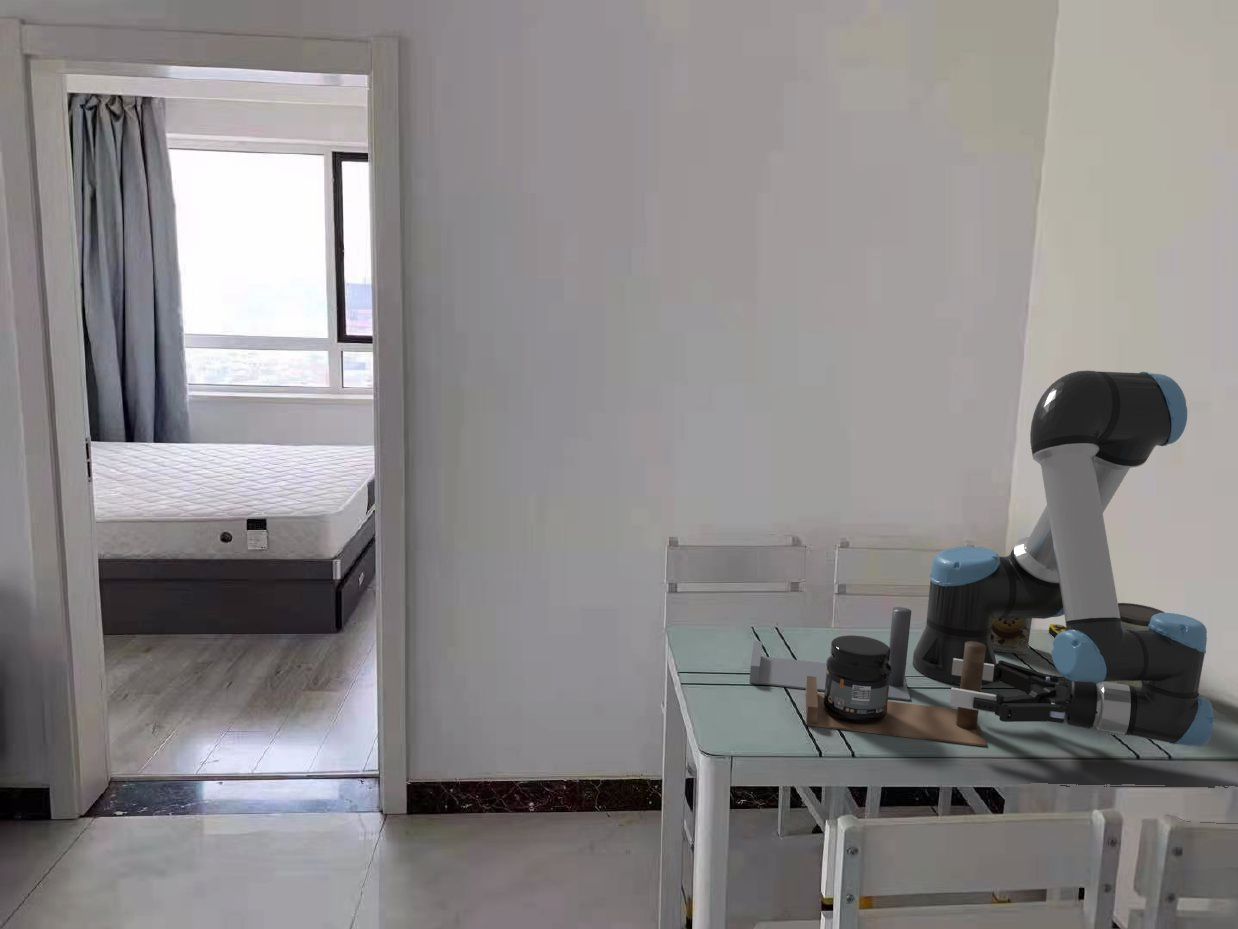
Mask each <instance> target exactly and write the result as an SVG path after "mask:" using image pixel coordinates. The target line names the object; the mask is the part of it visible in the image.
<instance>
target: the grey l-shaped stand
mask: <svg viewBox="0 0 1238 929" xmlns="http://www.w3.org/2000/svg"><path fill="white" fill-rule="evenodd" d="M911 617H912V609H910V608H907V607H904V606H903V607H902V606H900V607H899V606H896V607H893V608H892V614H891V626H890V635H889V643H888V644H889V645H888V647H889V648H890V657H889V662H888V663H889V665H890V666H891V675H890V682H889V693H888V699H892V700H899V701H900V700H901V701H909V702H910V701H911V697H910V693H909V689H908V687H907V683H906V680H905V678H906V668H907V657H908V649H909V648H908V647H909V639H910V637H909V636H910V630H911V629H910V628H911V620H912V619H911ZM762 649H763V641H760V640H753V645H752V653H751V661H750V672H749V684H755V685H765V686H766V685H767V686H773V687H775V686H776V687H784V688H792V689H802V690H806V683H807V676H812V677H816V679H817V692H820V691H821V692H825V683H826V671H827V666H826V662H818V661H810V660H802V659H801V660H800V659H799V660H798V659H793V658H792V659H789V658H782V657H769V656H764V655H763V656H762Z"/></svg>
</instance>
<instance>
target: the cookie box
mask: <svg viewBox="0 0 1238 929" xmlns="http://www.w3.org/2000/svg"><path fill="white" fill-rule="evenodd" d="M1032 619H1033V618H994V619H992V627H991V641H992V645H993V650H994V652H1000V651H1002V652H1003V653H1008V652H1010V654H1017V653H1018V654H1017V655H1025V654H1027V655H1028V650H1029V643H1030V642H1029V641H1030V636H1031V635H1030V634H1031V629H1032Z"/></svg>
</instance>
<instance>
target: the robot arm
mask: <svg viewBox="0 0 1238 929" xmlns="http://www.w3.org/2000/svg"><path fill="white" fill-rule="evenodd" d="M1185 396H1186V395H1185V393H1184V392H1183V389H1182V387H1181V386H1180V385H1179V384H1178V382H1176V381H1175V380H1174V379H1173V378H1172V377H1169V376H1168V375H1166V374H1161V373H1151V372H1148V371H1140V372H1122V371H1121V372H1119V371H1117V372H1116V371H1099V370H1098V371H1096V370H1078V371H1073V372H1070V373H1068V374H1065V375H1063V376H1061V377H1059V378H1058V379H1057V380H1055V381H1054V382H1053V383H1051V385H1050V386H1049V387H1048V388H1046V390H1045V391H1044V393H1042V395H1041V397H1040V399H1039V400H1038V403H1037V405H1036V407H1035V409H1034V413H1033V416H1032V420H1031V423H1030V424H1031V425H1030V430H1029V431H1030V433H1029V434H1030V435H1029V436H1030V438H1029V440H1030V442H1029V444H1030V449H1031V456H1032V460H1034V461H1035V462H1036V463H1038V464H1039V465H1040V467H1041V468H1040V469H1041V474H1042V479H1043V480H1042V481H1043V487H1044V493H1045V499H1046V506H1045V507H1044V510H1043V511H1042V513H1041V515H1040V517H1038V518H1039V519H1038V520H1037V523H1036V524H1035V526H1034V527H1033V529H1032V532H1031V533H1030V535H1029V536H1028V537H1023V538H1020V539H1018V541H1016V543H1015V545H1014V546H1013V548H1012V550H1011V552H1010V553H1009V555H1006V556H1000V554H998V553H997V551H994V550H993V549H990V548H986V547H979V546H976V547H973V546H956V547H949V548H946V549H943V550H940V551H939V552H938V553H937V554H936V555H935V556H934V559H933V562H932V566H931V571H930V574H929V579H930V582H929V593H928V601H927V602H928V603H927V611H926V612H927V613H926V622H925V627H924V629H923V632H922V634H921V636H920V638H919V640H918V642H917V644H916V646H915V648H914V651H913V656H912V666H913V668H915V670H916V671H918V672H919V673H921V674H923V675H924V676H927V677H929V678H932V679H934V680H938V681H942V682H945V683H950V684H955V685H960V684H961V675H962V666H963V657H964V648H965V642H969V641H973V642H979V643H982V644H984V645H985V646H986V651H985V659H984V668H983V677H982V685H986V684H989V683H993V684H996V683H999V682H1000V683H1002V684H1005V685H1007V686H1010V687H1012V688H1014V689H1016V690H1018V691H1021V692H1023V693H1024V694H1021V695H1011V696H1005V697H1004V696H1003V695H1001V694H999V693H996V694H993V693H986V692H983V691H982V692H976V691H970V690H964V689H960V688H957V687H951V688H950V689H951V690H950V698H949V706H951V707H957V708H958V707H962V708H968V709H973V710H979V711H980V712H986V713H992V714H994V715H995V716H998V717H999V721H1001V722H1005V723H1008V722H1009V723H1011V722H1012V723H1013V722H1014V723H1015V722H1016V723H1017V722H1019V723H1021V722H1023V723H1024V722H1025V723H1026V722H1028V723H1029V722H1032V723H1033V722H1041V723H1042V722H1049V723H1058V724H1064V723H1065V722H1066V724H1067V725H1069V726H1073V727H1078V728H1085V729H1091V728H1093V726H1094V727H1095V728H1096V730H1098V731H1103V732H1108V733H1109V735H1112V736H1115V735H1116V734H1120V735H1125V736H1133V737H1137V738H1138V737H1139V738H1142V739H1148V740H1154V741H1158V742H1163V743H1169V744H1171V745H1181V746H1187V747H1204V746H1205V745H1207V744H1208V743H1209V741H1210V739H1211V737H1212V734H1213V729H1214V723H1213V721H1214V709H1213V704H1212V703H1211V701H1210V699H1208V698H1206V697H1202V696H1200V693H1199V691H1200V689H1199V688H1200V683H1201V677H1202V671H1203V664H1204V660H1205V656H1206V654H1207V639H1208V637H1207V634H1208V631H1207V627H1206V625H1205V624H1204V623H1203V622H1201V621H1200V620H1198V619H1196V618H1193V617H1191V616H1188V615H1185V614H1180V613H1171V612H1165V613H1159V614H1155V615H1153V616H1152V617H1151V620H1150V623H1149V625H1148V630H1123V629H1122V624H1121V619H1120V613H1119V608H1118V603H1119V602H1118V597H1117V590H1116V585H1115V578H1114V573H1113V568H1112V562H1111V561H1112V560H1111V557H1110V556H1111V555H1110V554H1111V553H1110V550H1109V549H1110V548H1109V543H1108V538H1107V531H1106V525H1105V521H1104V520H1105V519H1104V512H1105V510H1106V509H1107V507H1108V506H1109V504H1110V502H1111V501H1112V499H1113V497H1114V496H1115V494H1116V492H1117V490H1118V489H1119V487H1120V486H1121V483H1123V481H1124V479H1125V477H1126V475H1127V474H1128V472H1129V471H1130V469H1132V468H1137V467H1141V466H1142V465H1144V464H1145V463H1146V462H1147V460H1148V459H1149V457H1150V455H1151V454H1152V452H1153V451H1154V449H1155V448H1156V446H1157V447H1158V446H1159V447H1166V446H1168V445H1171V444H1174V443H1175V442H1177V441H1179V439H1180V438H1181V437H1182V435H1183V433H1184V431H1185V429H1186V426H1187V423H1188V407H1187V400H1186V397H1185ZM1061 616H1064V621H1065V627H1066V630H1067V631H1062V632H1060V633H1059V634H1057V636H1056V637H1055V638H1054V639H1053V640H1052V646H1053V648H1052V650H1051V658H1052V662H1053V664H1054V667H1055V669H1056V671H1057V672H1058V673H1059V674H1060V675H1061V676H1062V678H1064V679H1066V680H1067V685H1062V684H1059V681H1060V677H1059V676H1057V675H1052V674H1047V673H1043V672H1040V671H1037V670H1034V669H1030V668H1027V667H1025V666H1021V665H1017V664H1014V663H1012V662H1008V661H1004V660H998V662H997V659H996V655H995V651H994V650H993V645H992V641H991V627H992V619H994V618H1032V619H1036V620H1037V619H1042V620H1043V619H1044V620H1045V619H1050V618H1057V617H1061ZM1107 681H1141V683H1142V686H1141V687H1134V686H1129V685H1125V684H1118V683H1112V682H1107ZM1096 683H1098V684H1096Z"/></svg>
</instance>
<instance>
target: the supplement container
mask: <svg viewBox="0 0 1238 929" xmlns="http://www.w3.org/2000/svg"><path fill="white" fill-rule="evenodd" d="M889 657H890V648H889V645H887V644H886V643H885V642H883V641H882V640H879V639H876V638H873V637H868V636H863V635H853V634H852V635H851V634H850V635H841V636H838V637H835V638H833V639H832V640H831V643H830V655H829V656H828V657H827V659H826V662H825V663H826V666H827V671H826V683H825V691H824V694H825V695H824V701H823V703H824V707H825V709H826V711H827V712H828V713H829V714H831V715H832V716H833V717H835V718H837V719H839V720H842V721H845V722H849V723H854V724H872V723H876V722H878V721H881V720H882V719H883V718H884V717H885V716H886V714H887V703H888V701H889V698H888V693H889V682H890V675H891V666H890V665H889V663H888V662H889Z"/></svg>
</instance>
